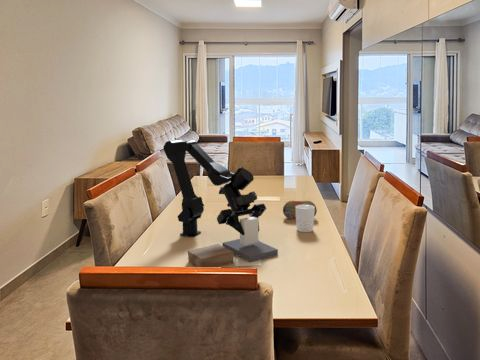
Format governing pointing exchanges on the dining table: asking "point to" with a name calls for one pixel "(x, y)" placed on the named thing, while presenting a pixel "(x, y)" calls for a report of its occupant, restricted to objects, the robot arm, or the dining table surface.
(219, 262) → the walnut stand
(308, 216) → the white cup
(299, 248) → the dining table surface
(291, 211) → the tin
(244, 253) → the rubber mat
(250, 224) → the white rectangular block
